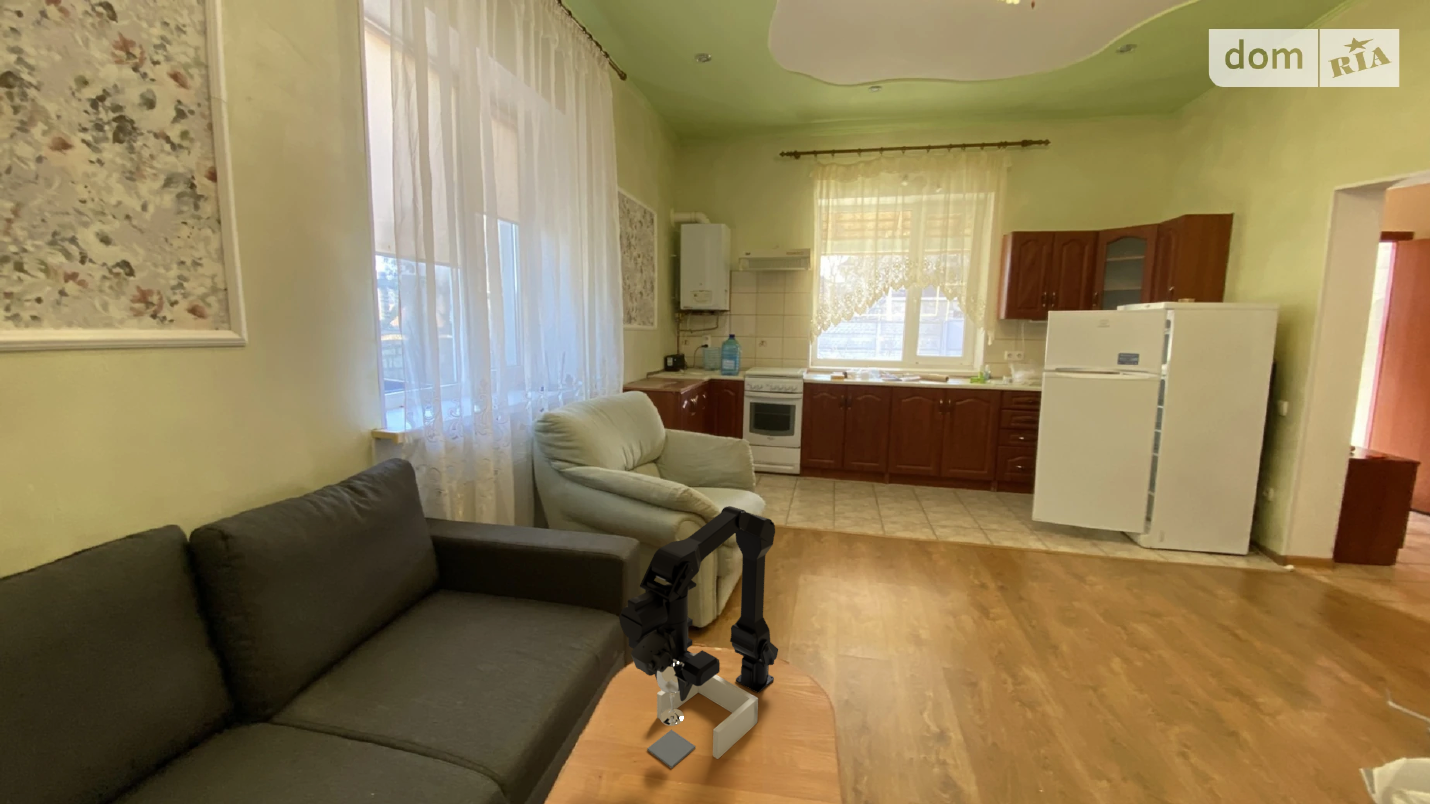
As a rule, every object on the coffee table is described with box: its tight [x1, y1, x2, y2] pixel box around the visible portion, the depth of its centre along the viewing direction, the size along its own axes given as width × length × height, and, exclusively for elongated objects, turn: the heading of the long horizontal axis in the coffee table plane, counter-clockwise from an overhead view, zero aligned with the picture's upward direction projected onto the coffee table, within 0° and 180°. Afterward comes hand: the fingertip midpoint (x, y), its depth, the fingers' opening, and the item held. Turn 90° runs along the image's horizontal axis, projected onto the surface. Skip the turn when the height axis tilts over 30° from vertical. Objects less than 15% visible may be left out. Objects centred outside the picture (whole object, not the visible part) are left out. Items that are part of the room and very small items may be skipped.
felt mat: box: [646, 729, 696, 769], centre depth 103 cm, size 6×6×1 cm
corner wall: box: [656, 674, 759, 760], centre depth 111 cm, size 13×16×6 cm
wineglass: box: [656, 660, 685, 727], centre depth 102 cm, size 6×6×12 cm
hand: (672, 693), depth 102 cm, fingers closed on wineglass, 5 cm apart
